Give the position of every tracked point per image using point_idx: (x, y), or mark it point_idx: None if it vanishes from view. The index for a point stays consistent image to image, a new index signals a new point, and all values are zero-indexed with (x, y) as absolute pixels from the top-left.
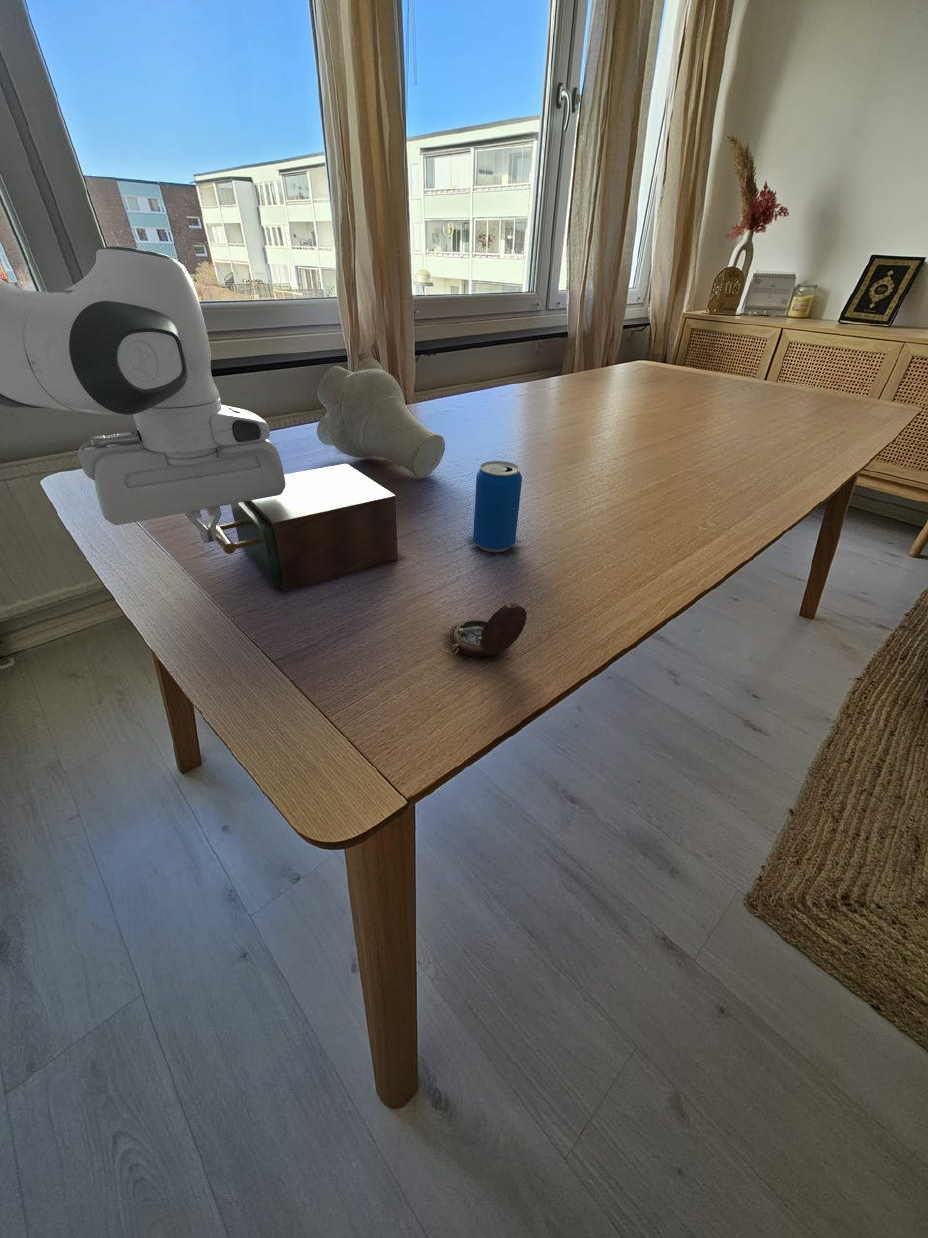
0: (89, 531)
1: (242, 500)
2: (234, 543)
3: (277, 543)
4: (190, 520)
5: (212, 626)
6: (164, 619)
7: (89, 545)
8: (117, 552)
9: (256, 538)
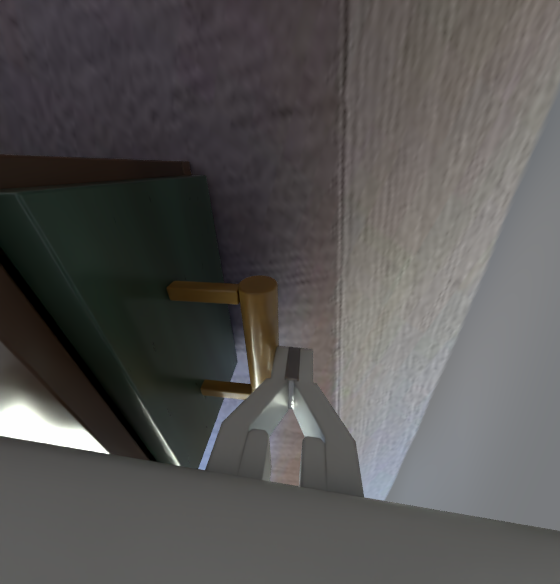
0: (389, 466)
1: (77, 462)
2: (236, 299)
3: (44, 156)
4: (351, 439)
5: (400, 82)
6: (464, 200)
7: (407, 448)
8: (390, 424)
9: (164, 290)
